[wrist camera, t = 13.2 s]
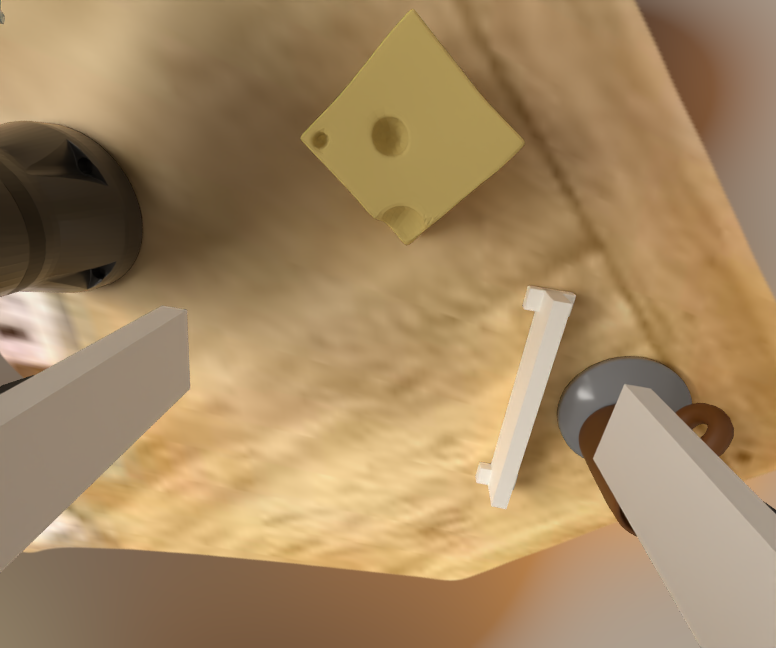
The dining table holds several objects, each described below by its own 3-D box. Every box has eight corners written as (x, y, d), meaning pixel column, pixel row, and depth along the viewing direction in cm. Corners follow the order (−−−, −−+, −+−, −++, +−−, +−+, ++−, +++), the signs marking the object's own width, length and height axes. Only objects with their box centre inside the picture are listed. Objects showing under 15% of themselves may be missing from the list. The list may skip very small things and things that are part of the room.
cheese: (411, 237, 37) (403, 261, 28) (326, 142, 35) (286, 133, 25) (506, 151, 34) (533, 145, 24) (418, 40, 31) (411, -13, 22)
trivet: (542, 449, 43) (544, 454, 42) (578, 346, 39) (580, 349, 38) (659, 470, 42) (663, 476, 42) (708, 368, 38) (714, 372, 37)
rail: (475, 476, 45) (479, 503, 41) (528, 285, 37) (538, 298, 33) (511, 483, 45) (518, 511, 41) (572, 292, 37) (587, 306, 33)
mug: (637, 350, 37) (699, 406, 29) (708, 386, 38) (790, 452, 29) (560, 445, 42) (593, 518, 33) (624, 476, 42) (673, 557, 33)
